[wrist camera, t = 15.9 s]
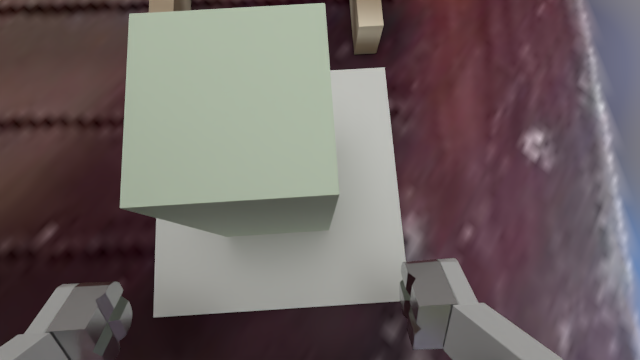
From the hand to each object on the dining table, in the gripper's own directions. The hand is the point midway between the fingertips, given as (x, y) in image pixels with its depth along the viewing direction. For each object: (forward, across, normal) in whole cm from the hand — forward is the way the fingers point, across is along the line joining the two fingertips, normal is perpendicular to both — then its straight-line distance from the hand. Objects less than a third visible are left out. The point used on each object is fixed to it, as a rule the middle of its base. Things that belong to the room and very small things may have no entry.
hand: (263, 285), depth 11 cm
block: (+8, 0, +2) cm, 8 cm away
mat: (+8, 0, +2) cm, 9 cm away
